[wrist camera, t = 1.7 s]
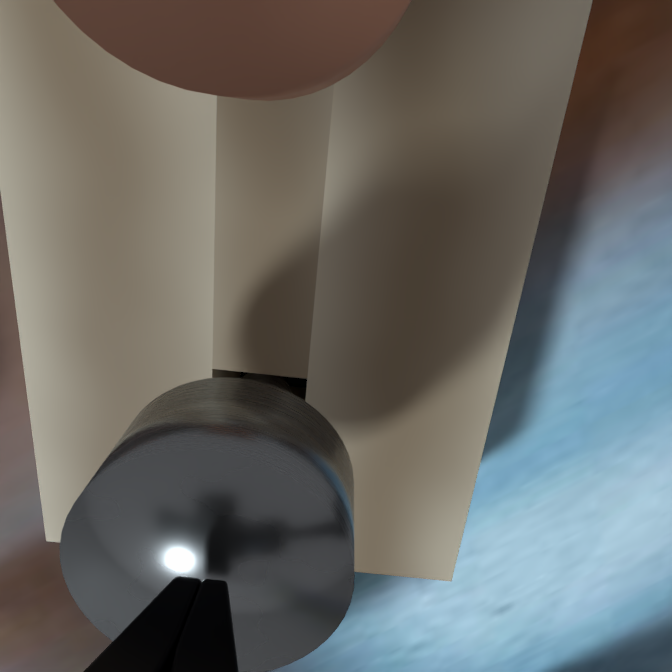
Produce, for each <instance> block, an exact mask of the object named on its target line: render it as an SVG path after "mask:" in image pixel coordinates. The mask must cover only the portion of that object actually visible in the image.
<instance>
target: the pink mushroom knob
mask: <svg viewBox="0 0 672 672" xmlns="http://www.w3.org/2000/svg"><path fill="white" fill-rule="evenodd" d="M53 1H54V2H55V3H56V5H57V6H58V7H59V8H60V9H61V10H62V11H63V12H64V13H65V14H66V15H67V16H68V17H69V18H70V20H71V21H72V22H73V23H74V24H75V25H76V26H77V27H78V28H79V29H80V30H81V31H82V32H83V33H85V34H86V35H87V36H88V37H89V38H91V39H92V40H93V41H94V42H96V43H97V44H98V45H99V46H100V47H102V48H103V49H104V50H105V51H106V52H108V53H110V54H111V55H113V56H114V57H116V58H117V59H119V60H120V61H122V62H124V63H125V64H127V65H128V66H130V67H131V68H133V69H135V70H137V71H139V72H141V73H143V74H145V75H148V76H150V77H152V78H154V79H156V80H158V81H160V82H163V83H166V84H170V85H173V86H176V87H179V88H182V89H185V90H189V91H194V92H200V93H205V94H211V95H217V96H225V97H232V98H240V99H247V100H264V101H274V100H284V99H292V98H296V97H300V96H304V95H308V94H312V93H314V92H317V91H319V90H322V89H324V88H326V87H329V86H331V85H333V84H335V83H336V82H338V81H340V80H341V79H343V78H345V77H347V76H348V75H350V74H351V73H352V72H354V71H355V70H356V69H357V68H359V67H360V66H361V65H363V64H364V63H365V62H366V61H367V60H368V59H369V58H370V57H371V56H372V55H373V54H374V53H375V52H376V51H377V50H378V49H379V48H380V47H381V46H382V45H383V44H384V42H385V41H386V40H387V38H388V37H389V36H390V35H391V33H392V32H393V31H394V29H395V28H396V27H397V25H398V23H399V22H400V20H401V18H402V16H403V15H404V13H405V11H406V10H407V8H408V6H409V4H410V3H411V1H412V0H53Z"/></svg>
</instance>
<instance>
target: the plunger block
mask: <svg viewBox="0 0 672 672" xmlns="http://www.w3.org/2000/svg"><path fill="white" fill-rule="evenodd" d="M592 1H593V0H412V1H411V3H410V4H409V6H408V8H407V10H406V11H405V13H404V15H403V16H402V18H401V20H400V22H399V23H398V25H397V27H396V28H395V29H394V31H393V32H392V33H391V35H390V36H389V37H388V38H387V40H386V41H385V42H384V44H383V45H382V46H381V47H380V48H379V49H378V50H377V51H376V52H375V53H374V54H373V55H372V56H371V57H370V58H369V59H368V60H367V61H366V62H365V63H364V64H363V65H361V66H360V67H359V68H357V69H356V70H355V71H354V72H352V73H351V74H350V75H348V76H347V77H345V78H343V79H341V80H340V81H338V82H336V83H335V84H333V85H331V86H329V87H326V88H324V89H322V90H319V91H317V92H314V93H312V94H308V95H304V96H300V97H296V98H292V99H284V100H274V101H264V100H247V99H240V98H232V97H225V96H217V95H211V94H205V93H200V92H194V91H189V90H185V89H182V88H179V87H176V86H173V85H170V84H166V83H163V82H160V81H158V80H156V79H154V78H152V77H150V76H148V75H145V74H143V73H141V72H139V71H137V70H135V69H133V68H131V67H130V66H128V65H127V64H125V63H124V62H122V61H120V60H119V59H117V58H116V57H114V56H113V55H111V54H110V53H108V52H106V51H105V50H104V49H103V48H102V47H100V46H99V45H98V44H97V43H96V42H94V41H93V40H92V39H91V38H89V37H88V36H87V35H86V34H85V33H83V32H82V31H81V30H80V29H79V28H78V27H77V26H76V25H75V24H74V23H73V22H72V21H71V20H70V18H69V17H68V16H67V15H66V14H65V13H64V12H63V11H62V10H61V9H60V8H59V7H58V6H57V5H56V3H55V2H54V1H53V0H0V191H1V198H2V206H3V214H4V221H5V229H6V237H7V244H8V252H9V260H10V267H11V275H12V282H13V290H14V298H15V305H16V313H17V321H18V328H19V336H20V344H21V351H22V359H23V367H24V374H25V382H26V389H27V397H28V405H29V412H30V420H31V428H32V435H33V443H34V451H35V458H36V466H37V473H38V481H39V489H40V496H41V504H42V512H43V519H44V527H45V535H46V541H50V542H60V540H61V533H62V529H63V526H64V523H65V520H66V517H67V515H68V513H69V511H70V510H71V508H72V506H73V504H74V503H75V501H76V500H77V498H78V497H79V496H80V494H81V493H82V491H83V490H84V489H85V487H86V486H87V484H88V483H89V482H90V480H91V479H92V477H93V476H94V475H95V473H96V472H97V470H98V469H99V468H100V466H101V465H102V463H103V462H104V461H105V459H106V458H107V456H108V455H109V454H110V452H111V451H112V449H113V448H114V447H115V445H116V444H117V442H118V441H119V440H120V438H121V437H122V435H123V434H124V433H125V431H126V430H127V428H128V427H129V425H130V424H131V423H132V421H133V420H134V419H135V418H136V416H137V415H138V414H139V412H140V411H141V410H142V409H143V408H144V407H146V406H147V405H148V404H149V403H150V402H151V401H152V400H154V399H155V398H157V397H158V396H160V395H161V394H163V393H165V392H167V391H169V390H171V389H173V388H175V387H177V386H180V385H183V384H186V383H189V382H192V381H197V380H202V379H207V378H220V377H230V378H240V372H247V373H257V374H267V375H276V376H286V377H296V378H305V379H307V387H306V388H302V387H292V386H289V387H290V389H291V392H292V394H294V395H296V396H297V397H299V398H301V399H303V400H304V401H306V402H307V403H308V404H310V405H311V406H312V407H314V408H315V409H316V410H317V411H318V412H320V413H321V414H322V415H323V416H324V417H325V418H326V419H327V420H328V421H329V423H330V424H331V425H332V426H333V427H334V429H335V430H336V431H337V433H338V434H339V436H340V438H341V439H342V441H343V443H344V445H345V447H346V449H347V452H348V454H349V456H350V460H351V464H352V468H353V476H354V572H363V573H373V574H383V575H393V576H403V577H413V578H423V579H433V580H443V581H452V577H453V572H454V568H455V564H456V560H457V556H458V552H459V548H460V544H461V540H462V536H463V531H464V527H465V523H466V519H467V515H468V511H469V507H470V503H471V499H472V494H473V490H474V486H475V482H476V478H477V474H478V470H479V466H480V462H481V457H482V453H483V449H484V445H485V441H486V437H487V433H488V429H489V425H490V420H491V416H492V412H493V408H494V404H495V400H496V396H497V392H498V388H499V383H500V379H501V375H502V371H503V367H504V363H505V359H506V355H507V351H508V347H509V342H510V338H511V334H512V330H513V326H514V322H515V318H516V314H517V310H518V305H519V301H520V297H521V293H522V289H523V285H524V281H525V277H526V273H527V268H528V264H529V260H530V256H531V252H532V248H533V244H534V240H535V236H536V231H537V227H538V223H539V219H540V215H541V211H542V207H543V203H544V199H545V194H546V190H547V186H548V182H549V178H550V174H551V170H552V166H553V162H554V157H555V153H556V149H557V145H558V141H559V137H560V133H561V129H562V125H563V121H564V116H565V112H566V108H567V104H568V100H569V96H570V92H571V88H572V84H573V79H574V75H575V71H576V67H577V63H578V59H579V55H580V51H581V47H582V42H583V38H584V34H585V30H586V26H587V22H588V18H589V14H590V10H591V5H592Z"/></svg>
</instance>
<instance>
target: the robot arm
mask: <svg viewBox="0 0 672 672" xmlns="http://www.w3.org/2000/svg"><path fill="white" fill-rule="evenodd" d="M84 672H239V671H238V663H237V655H236V647H235V639H234V631H233V623H232V615H231V607H230V599H229V591H228V584H227V582H226V581H223V580H213V579H204V580H203V581H202V582H201V580H200V579H198V578H193V577H183V576H178V577H176V578H174V579H173V580H172V581H171V582H170V583H169V584H168V585H167V586H166V587H165V588H164V589H163V590H162V591H161V592H160V593H159V594H158V595H157V596H156V597H155V598H154V599H153V600H152V602H151V603H150V604H149V605H148V606H147V607H146V608H145V609H144V610H143V611H142V612H141V613H140V614H139V615H138V616H137V617H136V618H135V619H134V620H133V621H132V622H131V623H130V624H129V625H128V626H127V627H126V628H125V629H124V630H123V631H122V633H121V634H120V635H119V636H118V637H117V638H116V639H115V640H114V641H113V642H112V643H111V644H110V645H109V646H108V647H107V648H106V649H105V650H104V651H103V652H102V653H101V654H100V655H99V656H98V657H97V658H96V659H95V660H94V661H93V662H92V664H91V665H90V666H89V667H88V668H87V669H86V670H85V671H84Z"/></svg>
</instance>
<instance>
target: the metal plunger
mask: <svg viewBox="0 0 672 672" xmlns="http://www.w3.org/2000/svg"><path fill="white" fill-rule="evenodd" d="M60 562H61V567H62V572H63V576H64V579H65V581H66V584H67V587H68V589H69V591H70V593H71V595H72V597H73V599H74V600H75V602H76V604H77V605H78V606H79V608H80V609H81V611H82V612H83V613H84V615H85V616H86V617H87V618H88V619H89V620H90V621H91V622H92V623H93V624H94V626H95V627H96V628H97V629H99V630H100V631H101V632H102V633H103V634H105V635H106V636H107V637H108V638H109V639H111V640H112V641H114V640H115V639H116V638H117V637H118V636H119V635H120V634H121V633H122V631H123V630H124V629H125V628H126V627H127V626H128V625H129V624H130V623H131V622H132V621H133V620H134V619H135V618H136V617H137V616H138V615H139V614H140V613H141V612H142V611H143V610H144V609H145V608H146V607H147V606H148V605H149V604H150V603H151V602H152V600H153V599H154V598H155V597H156V596H157V595H158V594H159V593H160V592H161V591H162V590H163V589H164V588H165V587H166V586H167V585H168V584H169V583H170V582H171V581H172V580H173V579H174V578H176V577H178V576H183V577H193V578H198V579H200V580H201V582H202V581H203V580H204V579H213V580H223V581H226V582H227V584H228V591H229V599H230V607H231V615H232V623H233V631H234V639H235V647H236V655H237V663H238V671H239V672H265V671H269V670H274V669H276V668H279V667H282V666H285V665H288V664H290V663H292V662H294V661H296V660H298V659H301V658H303V657H304V656H306V655H307V654H309V653H310V652H312V651H314V650H315V649H316V648H318V647H319V646H320V645H321V644H322V643H324V642H325V641H326V640H327V639H328V638H329V637H330V636H331V635H332V633H333V632H334V631H335V630H336V629H337V627H338V626H339V624H340V623H341V621H342V620H343V618H344V617H345V614H346V612H347V610H348V607H349V605H350V602H351V598H352V594H353V590H354V476H353V468H352V464H351V460H350V456H349V454H348V452H347V449H346V447H345V445H344V443H343V441H342V439H341V438H340V436H339V434H338V433H337V431H336V430H335V429H334V427H333V426H332V425H331V424H330V423H329V421H328V420H327V419H326V418H325V417H324V416H323V415H322V414H321V413H320V412H318V411H317V410H316V409H315V408H314V407H312V406H311V405H310V404H308V403H307V402H306V401H304V400H303V399H301V398H299V397H297V396H296V395H294V394H292V392H291V389H290V387H289V385H288V383H287V382H286V381H285V380H284V379H283V378H282V377H281V376H276V375H267V374H257V373H248V374H246V375H245V376H244V377H242V378H230V377H220V378H207V379H202V380H197V381H192V382H189V383H186V384H183V385H180V386H177V387H175V388H173V389H171V390H169V391H167V392H165V393H163V394H161V395H160V396H158V397H157V398H155V399H154V400H152V401H151V402H150V403H149V404H148V405H147V406H146V407H144V408H143V409H142V410H141V411H140V412H139V414H138V415H137V416H136V418H135V419H134V420H133V421H132V423H131V424H130V425H129V427H128V428H127V430H126V431H125V433H124V434H123V435H122V437H121V438H120V440H119V441H118V442H117V444H116V445H115V447H114V448H113V449H112V451H111V452H110V454H109V455H108V456H107V458H106V459H105V461H104V462H103V463H102V465H101V466H100V468H99V469H98V470H97V472H96V473H95V475H94V476H93V477H92V479H91V480H90V482H89V483H88V484H87V486H86V487H85V489H84V490H83V491H82V493H81V494H80V496H79V497H78V498H77V500H76V501H75V503H74V504H73V506H72V508H71V510H70V511H69V513H68V515H67V517H66V520H65V523H64V526H63V529H62V533H61V540H60Z"/></svg>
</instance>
